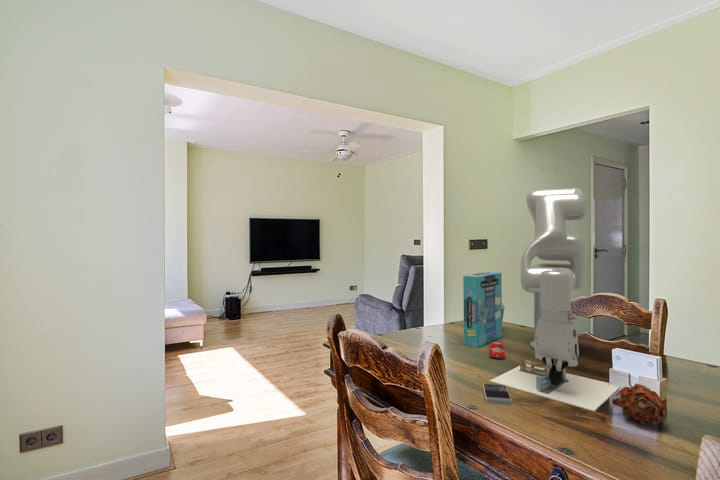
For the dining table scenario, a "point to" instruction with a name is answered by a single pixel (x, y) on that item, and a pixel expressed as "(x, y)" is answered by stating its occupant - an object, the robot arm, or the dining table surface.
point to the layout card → (560, 388)
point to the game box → (482, 308)
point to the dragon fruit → (640, 404)
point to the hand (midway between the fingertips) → (556, 383)
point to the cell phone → (496, 394)
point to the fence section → (532, 363)
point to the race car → (497, 350)
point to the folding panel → (540, 380)
